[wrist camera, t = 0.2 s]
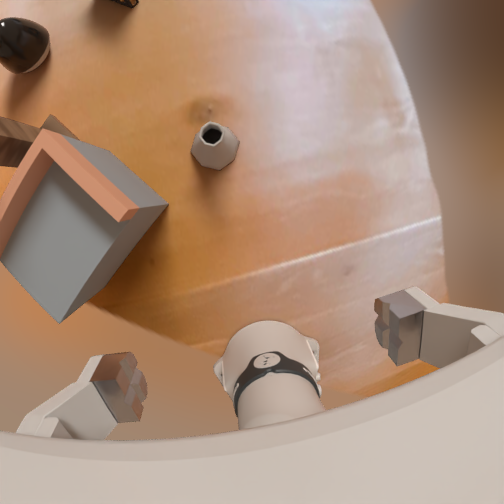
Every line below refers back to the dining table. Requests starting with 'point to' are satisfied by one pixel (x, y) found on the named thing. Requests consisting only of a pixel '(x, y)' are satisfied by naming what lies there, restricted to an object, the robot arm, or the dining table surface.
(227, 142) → the flask
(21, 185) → the terracotta walls
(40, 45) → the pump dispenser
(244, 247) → the dining table surface
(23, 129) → the walnut post
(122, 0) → the ammunition clip
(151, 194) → the slate crate
